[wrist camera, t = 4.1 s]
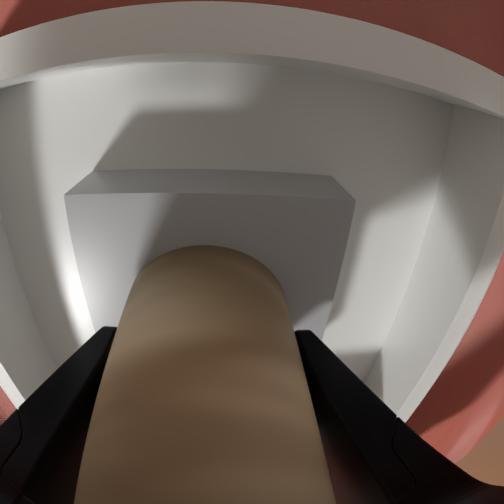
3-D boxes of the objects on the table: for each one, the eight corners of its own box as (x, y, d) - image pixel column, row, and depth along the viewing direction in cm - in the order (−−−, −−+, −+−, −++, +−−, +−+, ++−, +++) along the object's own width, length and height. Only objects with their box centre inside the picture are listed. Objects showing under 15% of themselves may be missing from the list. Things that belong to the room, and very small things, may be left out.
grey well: (466, 83, 8) (541, 100, 5) (372, 383, 16) (393, 437, 13) (-22, 70, 6) (-94, 84, 3) (55, 379, 14) (37, 434, 11)
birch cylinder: (296, 247, 8) (386, 493, 3) (276, 365, 10) (307, 544, 5) (117, 243, 7) (20, 482, 2) (141, 363, 10) (116, 541, 4)
